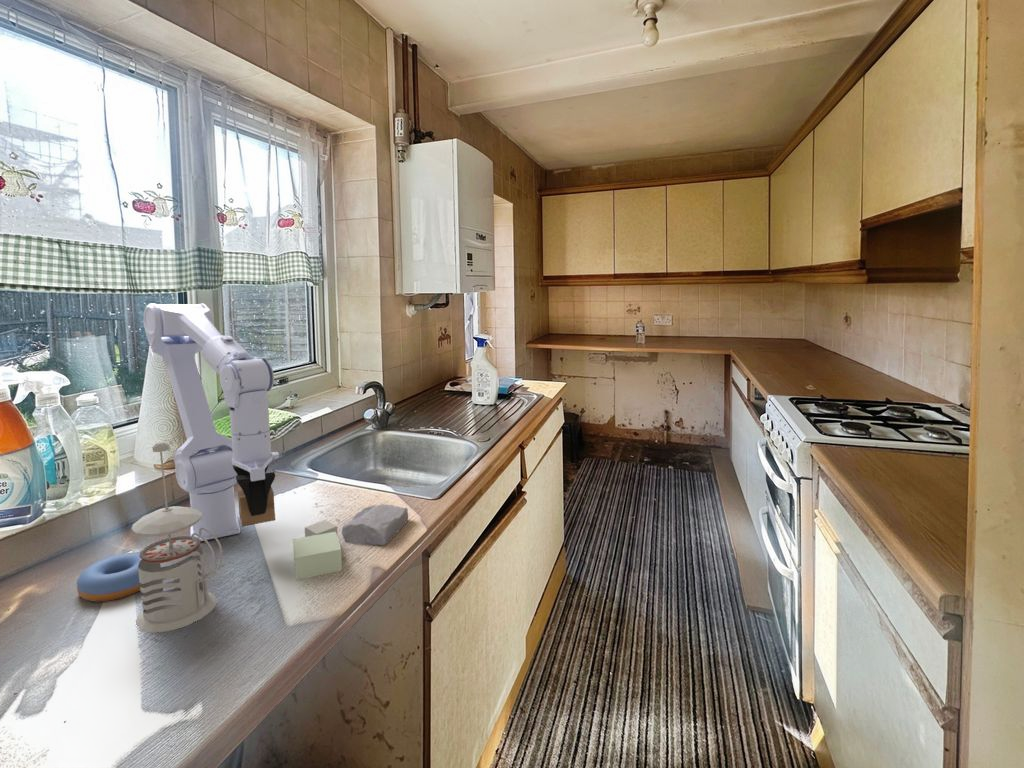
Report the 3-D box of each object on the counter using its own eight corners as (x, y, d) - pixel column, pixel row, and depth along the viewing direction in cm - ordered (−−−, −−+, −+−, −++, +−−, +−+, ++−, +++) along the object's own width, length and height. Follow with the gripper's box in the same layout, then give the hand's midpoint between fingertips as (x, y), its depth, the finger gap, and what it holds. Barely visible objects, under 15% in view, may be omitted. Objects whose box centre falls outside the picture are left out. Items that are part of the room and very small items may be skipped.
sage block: (294, 560, 86) (292, 539, 85) (336, 552, 89) (335, 531, 88) (296, 581, 80) (295, 557, 79) (341, 571, 83) (341, 549, 82)
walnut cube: (239, 516, 86) (237, 488, 86) (271, 510, 89) (269, 483, 88) (242, 526, 82) (239, 497, 81) (275, 520, 85) (273, 492, 84)
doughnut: (141, 599, 74) (138, 569, 73) (62, 612, 71) (57, 581, 71) (170, 571, 83) (167, 544, 83) (101, 580, 81) (98, 553, 81)
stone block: (339, 552, 93) (388, 547, 91) (333, 527, 92) (383, 522, 90) (368, 526, 104) (413, 521, 102) (364, 504, 104) (408, 499, 102)
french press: (168, 589, 77) (151, 431, 72) (242, 592, 76) (230, 433, 72) (116, 631, 67) (93, 451, 63) (201, 634, 67) (184, 454, 62)
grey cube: (305, 548, 90) (304, 527, 90) (325, 540, 93) (324, 519, 93) (317, 555, 88) (316, 533, 87) (338, 546, 91) (337, 526, 90)
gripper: (283, 438, 79) (288, 518, 81) (271, 419, 91) (275, 490, 93) (233, 444, 75) (239, 528, 78) (226, 423, 87) (232, 497, 90)
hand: (256, 508), depth 85 cm, fingers closed on walnut cube, 5 cm apart
